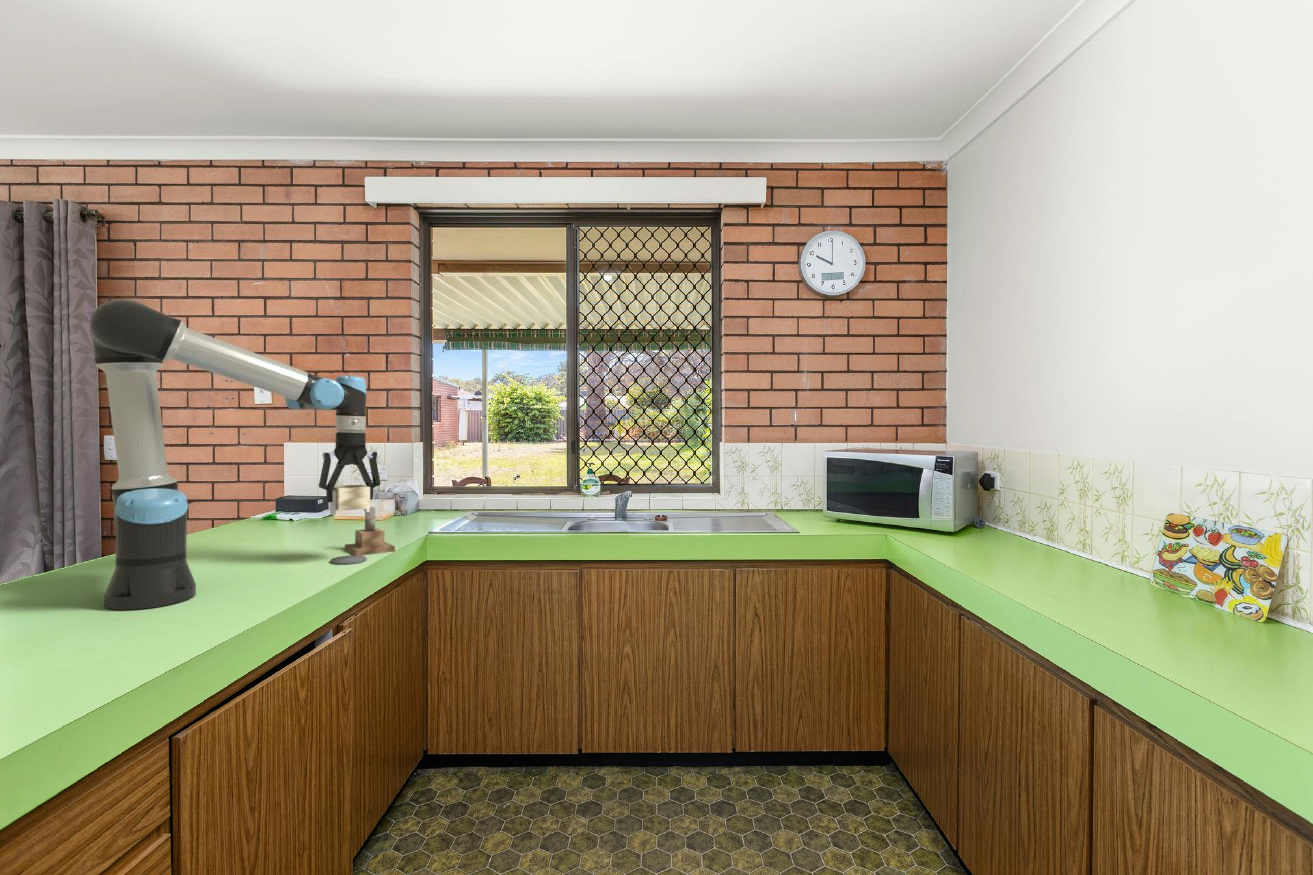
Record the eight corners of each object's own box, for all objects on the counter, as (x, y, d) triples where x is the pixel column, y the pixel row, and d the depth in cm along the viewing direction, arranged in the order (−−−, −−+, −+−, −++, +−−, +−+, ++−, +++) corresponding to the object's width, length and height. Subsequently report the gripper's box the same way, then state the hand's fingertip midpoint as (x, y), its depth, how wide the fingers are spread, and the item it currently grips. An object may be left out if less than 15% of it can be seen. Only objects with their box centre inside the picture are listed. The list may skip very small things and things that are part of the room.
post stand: (355, 555, 174) (356, 511, 174) (344, 549, 182) (345, 507, 182) (394, 551, 181) (395, 508, 181) (382, 545, 189) (382, 504, 189)
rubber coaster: (335, 566, 161) (335, 563, 161) (326, 560, 168) (326, 557, 168) (371, 561, 167) (371, 559, 167) (360, 555, 174) (360, 553, 174)
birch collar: (338, 510, 162) (338, 488, 162) (330, 507, 167) (330, 486, 167) (369, 508, 167) (370, 487, 167) (360, 505, 173) (361, 484, 173)
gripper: (312, 431, 157) (311, 517, 157) (394, 432, 171) (393, 511, 172) (305, 431, 162) (304, 514, 163) (384, 431, 177) (384, 507, 177)
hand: (350, 512), depth 167 cm, fingers closed on birch collar, 8 cm apart
